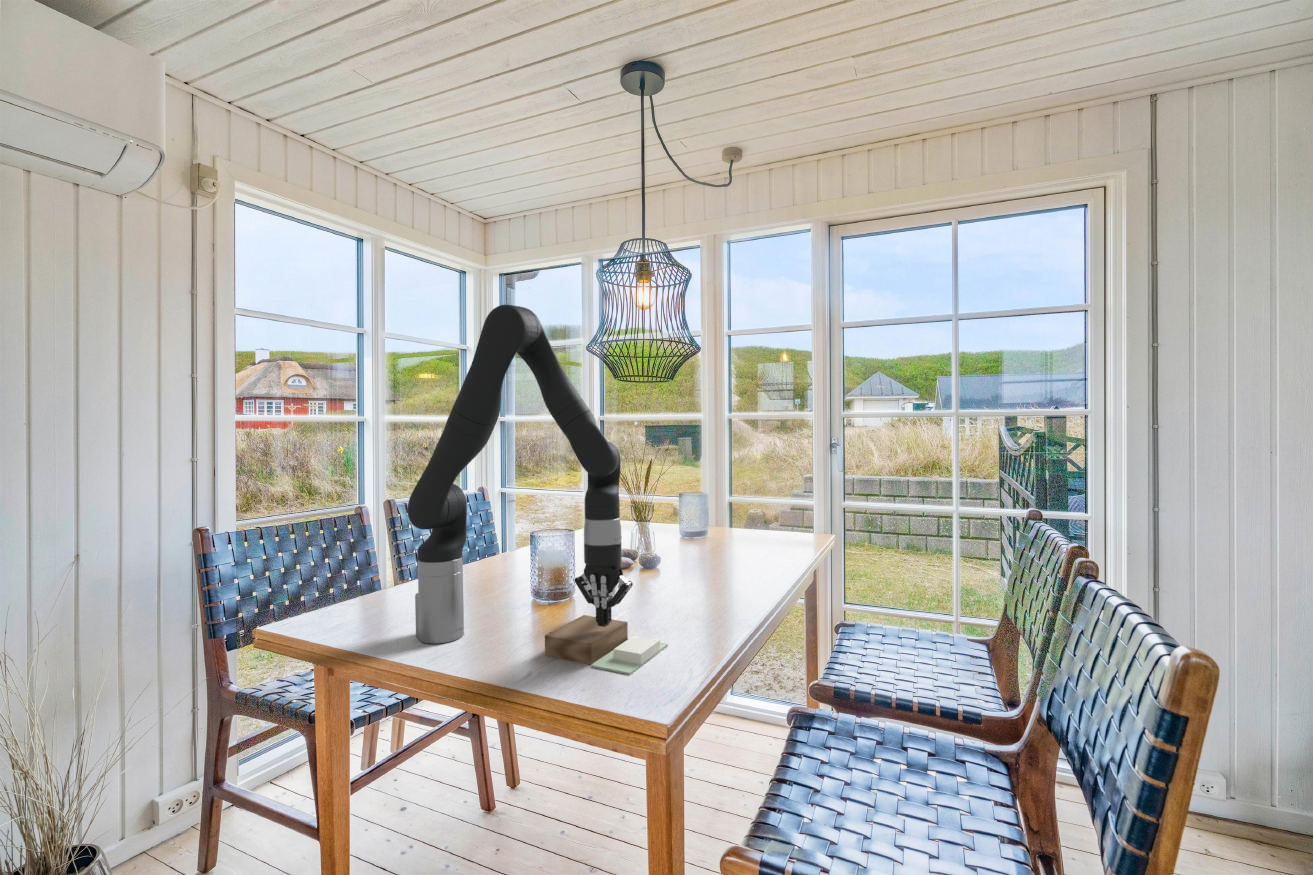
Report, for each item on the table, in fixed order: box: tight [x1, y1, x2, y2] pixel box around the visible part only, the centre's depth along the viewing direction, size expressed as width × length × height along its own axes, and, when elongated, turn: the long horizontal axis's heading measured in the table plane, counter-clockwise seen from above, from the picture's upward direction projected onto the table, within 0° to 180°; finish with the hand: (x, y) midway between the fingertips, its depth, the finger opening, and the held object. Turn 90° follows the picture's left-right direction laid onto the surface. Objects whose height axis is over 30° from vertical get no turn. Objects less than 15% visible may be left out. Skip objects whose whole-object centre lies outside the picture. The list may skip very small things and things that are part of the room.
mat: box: [590, 641, 669, 676], centre depth 119 cm, size 8×16×1 cm, turn 153°
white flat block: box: [614, 635, 661, 664], centre depth 119 cm, size 6×8×2 cm
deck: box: [544, 614, 629, 666], centre depth 124 cm, size 11×14×4 cm
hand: (603, 625), depth 122 cm, fingers closed
